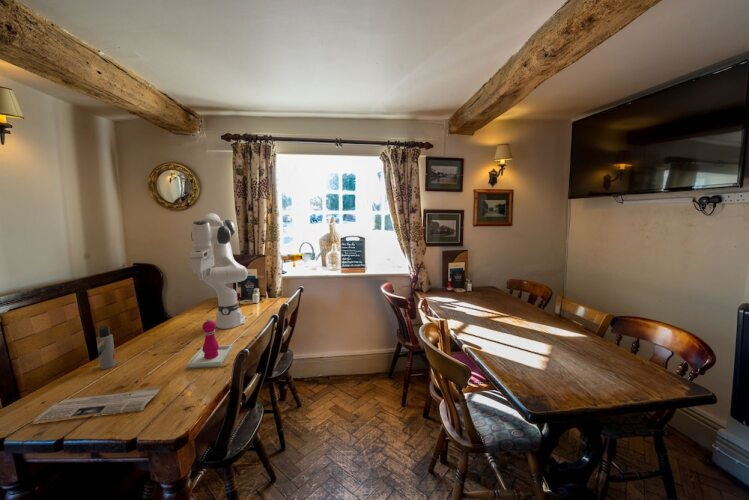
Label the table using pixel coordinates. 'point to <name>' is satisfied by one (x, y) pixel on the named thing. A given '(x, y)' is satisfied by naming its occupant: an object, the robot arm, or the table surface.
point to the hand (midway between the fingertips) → (205, 277)
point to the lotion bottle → (105, 348)
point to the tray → (201, 362)
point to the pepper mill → (210, 340)
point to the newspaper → (100, 404)
